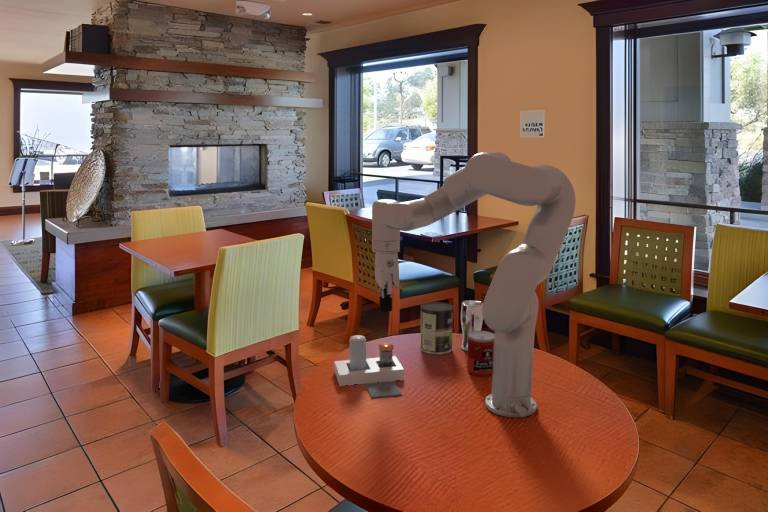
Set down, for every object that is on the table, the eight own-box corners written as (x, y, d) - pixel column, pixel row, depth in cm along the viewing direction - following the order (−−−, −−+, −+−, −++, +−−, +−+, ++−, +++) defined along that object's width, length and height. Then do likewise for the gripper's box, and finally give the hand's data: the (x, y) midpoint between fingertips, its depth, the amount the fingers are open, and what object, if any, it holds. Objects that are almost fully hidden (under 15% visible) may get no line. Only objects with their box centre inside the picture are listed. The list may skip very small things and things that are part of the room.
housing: (404, 380, 157) (404, 369, 156) (339, 386, 153) (339, 375, 152) (395, 366, 166) (395, 356, 166) (334, 371, 162) (334, 361, 162)
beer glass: (455, 346, 182) (456, 301, 179) (473, 343, 185) (475, 299, 182) (467, 353, 176) (469, 307, 173) (486, 350, 179) (487, 304, 176)
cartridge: (367, 379, 157) (367, 339, 155) (351, 381, 156) (350, 341, 154) (364, 372, 161) (364, 334, 159) (348, 374, 160) (348, 335, 158)
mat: (401, 395, 147) (401, 393, 147) (371, 398, 146) (371, 396, 146) (394, 382, 155) (394, 381, 155) (365, 385, 153) (365, 384, 153)
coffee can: (453, 344, 184) (454, 302, 181) (450, 355, 174) (451, 312, 171) (422, 342, 186) (422, 300, 183) (417, 353, 176) (418, 310, 173)
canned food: (474, 378, 158) (475, 341, 155) (462, 367, 165) (463, 331, 163) (499, 375, 160) (500, 338, 158) (486, 364, 167) (488, 329, 165)
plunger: (394, 367, 158) (395, 347, 157) (380, 369, 158) (380, 348, 156) (391, 362, 162) (391, 342, 161) (377, 363, 162) (377, 343, 160)
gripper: (406, 250, 147) (405, 318, 150) (392, 240, 161) (392, 302, 165) (378, 251, 145) (378, 319, 149) (367, 241, 159) (367, 303, 163)
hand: (385, 310), depth 157 cm, fingers closed
